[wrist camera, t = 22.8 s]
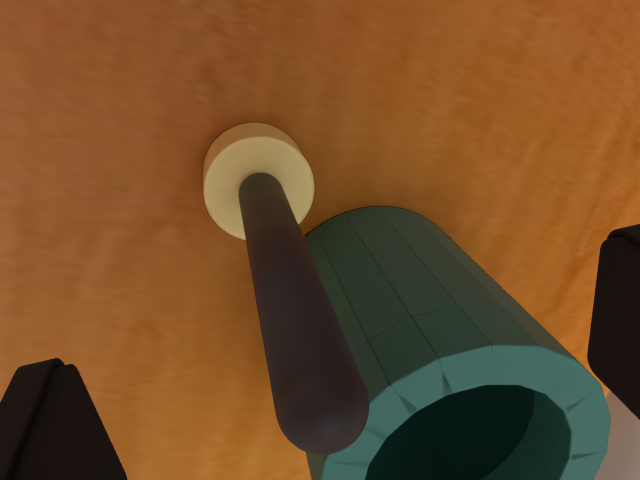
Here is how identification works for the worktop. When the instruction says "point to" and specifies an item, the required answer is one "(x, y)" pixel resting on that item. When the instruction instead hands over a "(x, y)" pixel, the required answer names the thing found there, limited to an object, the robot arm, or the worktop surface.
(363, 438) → the teal hollow cylinder
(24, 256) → the worktop surface
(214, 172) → the joystick
